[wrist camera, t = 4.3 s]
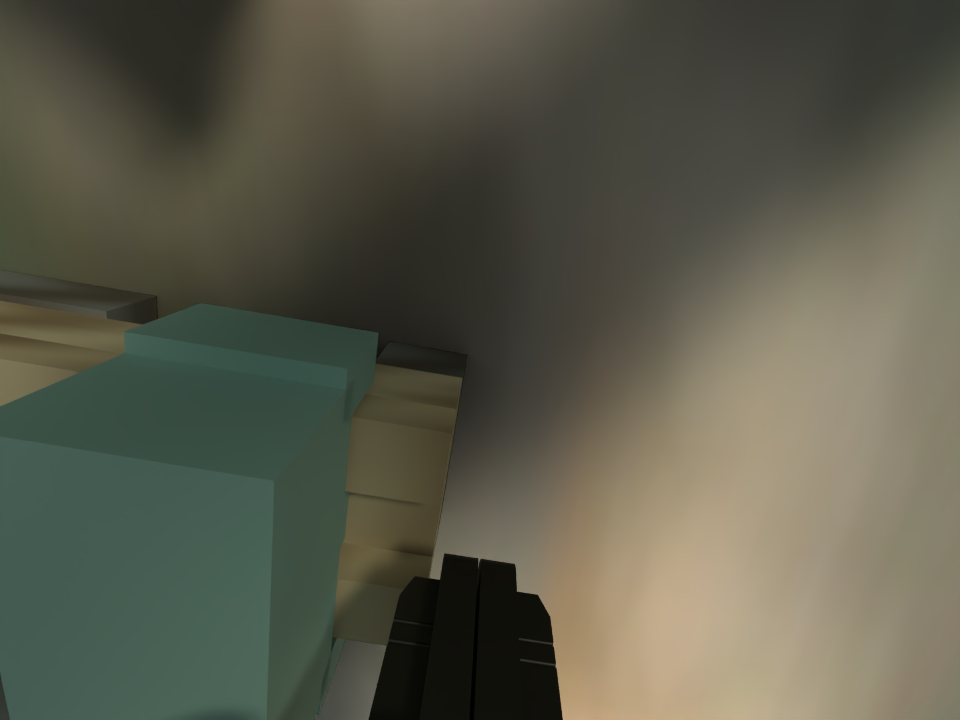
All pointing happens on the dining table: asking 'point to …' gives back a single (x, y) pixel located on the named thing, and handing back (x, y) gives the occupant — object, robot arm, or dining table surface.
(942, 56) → the dining table surface
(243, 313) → the rider
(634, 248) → the dining table surface
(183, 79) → the dining table surface
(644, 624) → the dining table surface
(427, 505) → the beam
